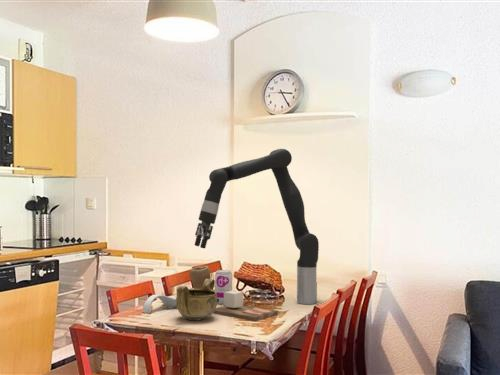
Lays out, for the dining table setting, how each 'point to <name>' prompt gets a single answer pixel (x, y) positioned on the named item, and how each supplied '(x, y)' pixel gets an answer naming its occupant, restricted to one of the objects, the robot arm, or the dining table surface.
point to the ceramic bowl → (197, 301)
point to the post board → (246, 312)
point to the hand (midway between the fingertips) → (199, 246)
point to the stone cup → (199, 276)
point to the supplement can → (222, 284)
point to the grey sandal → (167, 301)
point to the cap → (233, 299)
